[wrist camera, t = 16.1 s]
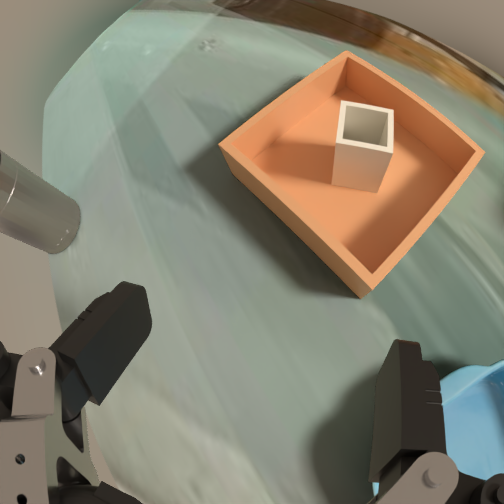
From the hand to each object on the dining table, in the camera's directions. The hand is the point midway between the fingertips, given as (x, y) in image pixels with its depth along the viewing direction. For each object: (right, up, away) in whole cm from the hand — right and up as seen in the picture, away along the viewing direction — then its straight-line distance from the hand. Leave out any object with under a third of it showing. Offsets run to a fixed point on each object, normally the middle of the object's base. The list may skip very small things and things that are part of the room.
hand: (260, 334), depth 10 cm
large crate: (+13, +12, +29) cm, 34 cm away
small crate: (+12, +13, +28) cm, 33 cm away
